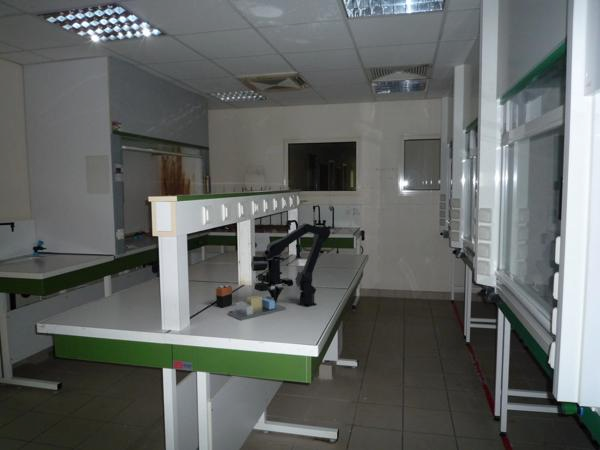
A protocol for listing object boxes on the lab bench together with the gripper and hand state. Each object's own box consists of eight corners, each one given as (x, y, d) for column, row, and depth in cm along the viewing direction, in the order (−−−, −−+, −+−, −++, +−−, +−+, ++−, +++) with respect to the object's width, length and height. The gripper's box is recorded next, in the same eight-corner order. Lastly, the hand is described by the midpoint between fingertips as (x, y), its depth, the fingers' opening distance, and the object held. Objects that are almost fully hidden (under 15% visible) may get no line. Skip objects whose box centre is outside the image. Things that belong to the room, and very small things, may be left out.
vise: (271, 304, 201) (271, 294, 201) (285, 309, 193) (285, 298, 193) (228, 314, 186) (227, 303, 185) (241, 320, 178) (241, 308, 177)
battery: (216, 306, 198) (215, 286, 198) (226, 303, 204) (225, 283, 203) (222, 308, 196) (222, 287, 195) (232, 304, 202) (232, 284, 201)
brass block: (257, 308, 192) (257, 295, 191) (262, 309, 189) (262, 296, 188) (246, 310, 188) (246, 297, 187) (251, 312, 185) (251, 299, 185)
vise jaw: (265, 303, 198) (265, 295, 197) (277, 307, 191) (277, 299, 191) (258, 305, 195) (257, 296, 195) (269, 309, 188) (269, 300, 188)
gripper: (279, 264, 206) (279, 295, 208) (247, 269, 194) (248, 302, 196) (293, 268, 198) (294, 300, 199) (261, 273, 186) (261, 307, 187)
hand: (274, 302), depth 196 cm, fingers closed
